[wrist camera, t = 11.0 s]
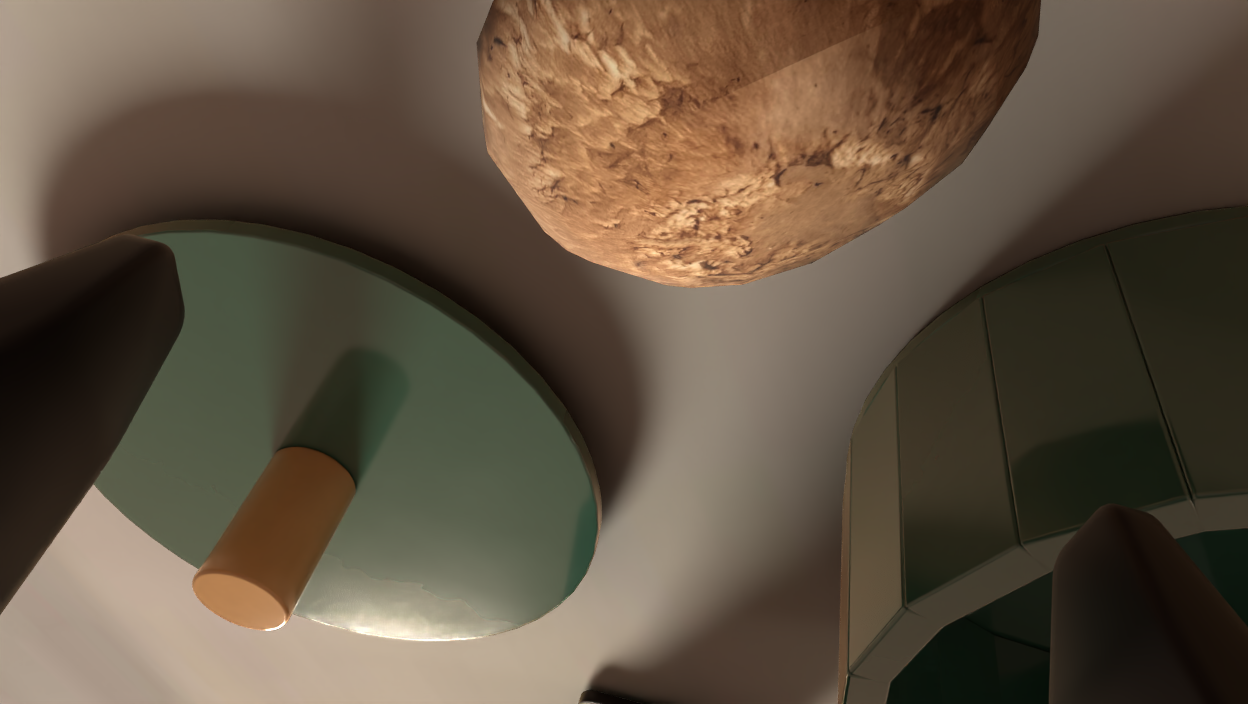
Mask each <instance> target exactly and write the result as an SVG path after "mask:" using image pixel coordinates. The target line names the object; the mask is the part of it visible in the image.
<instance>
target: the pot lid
mask: <svg viewBox="0 0 1248 704" xmlns="http://www.w3.org/2000/svg"><path fill="white" fill-rule="evenodd" d="M123 234H130V235H136V236H139V237H143V238H147V239H150V240H154V241H158V242H161V243H164V244H165V245H167V246H169V248H170V249H171V250H172V252H173V253H174V256H175V260H176V265H177V271H178V276H179V281H180V286H181V291H182V296H183V302H184V307H185V318H184V323H183V326H182V329H181V332H180V334H179V336H178V338H177V340H176V341H175V343H174V345H173V347H172V349H171V351H170V352H169V354H168V356H167V358H166V360H165V361H164V363H163V365H162V367H161V369H160V371H159V372H158V374H157V376H156V378H155V380H154V381H153V383H152V385H151V387H150V389H149V391H148V392H147V394H146V396H145V398H144V400H143V401H142V403H141V405H140V407H139V409H138V411H137V412H136V414H135V416H134V418H133V420H132V422H131V423H130V425H129V427H128V429H127V431H126V432H125V434H124V436H123V438H122V440H121V441H120V443H119V445H118V446H117V448H116V450H115V452H114V453H113V455H112V457H111V458H110V460H109V462H108V463H107V465H106V466H105V468H104V469H103V470H102V472H101V473H100V475H99V476H98V478H97V479H96V481H95V482H94V485H95V486H96V488H97V489H98V490H99V491H100V492H101V493H102V494H103V495H104V496H105V497H106V498H107V499H108V500H109V501H110V502H111V503H112V504H113V505H114V506H115V507H116V508H117V509H118V510H120V511H121V512H122V513H123V514H124V515H125V516H126V517H127V518H128V519H129V520H131V521H132V522H133V523H134V524H135V525H137V526H138V527H139V528H140V529H142V530H143V531H144V532H145V533H147V534H148V535H149V536H150V537H151V538H153V539H154V540H156V541H157V542H158V543H160V544H161V545H163V546H164V547H165V548H167V549H168V550H170V551H171V552H173V553H174V554H175V555H177V556H178V557H180V558H181V559H183V560H185V561H186V562H188V563H189V564H191V565H193V566H194V567H196V568H198V569H199V570H198V571H197V573H196V574H195V576H194V578H193V583H192V587H193V591H194V593H195V595H196V596H197V598H198V599H199V600H200V601H201V602H202V604H204V605H205V606H206V607H207V608H208V609H209V610H211V611H212V612H213V613H215V614H216V615H218V616H220V617H222V618H223V619H225V620H227V621H230V622H232V623H234V624H237V625H240V626H243V627H246V628H250V629H255V630H275V629H278V628H281V627H282V626H284V625H285V624H286V623H287V622H288V620H289V619H290V617H291V615H292V614H294V615H297V616H300V617H304V618H307V619H310V620H313V621H316V622H319V623H322V624H326V625H330V626H334V627H338V628H342V629H346V630H350V631H354V632H359V633H364V634H370V635H376V636H381V637H388V638H398V639H407V640H426V641H448V640H464V639H473V638H479V637H485V636H491V635H496V634H499V633H503V632H506V631H510V630H513V629H517V628H519V627H521V626H524V625H526V624H528V623H531V622H533V621H535V620H537V619H539V618H541V617H542V616H544V615H546V614H547V613H549V612H550V611H552V610H553V609H555V608H556V607H558V606H559V605H560V604H561V603H562V602H563V601H564V600H565V599H566V598H567V597H568V596H570V595H571V594H572V593H573V592H574V591H575V589H576V588H577V586H578V585H579V583H580V582H581V581H582V579H583V578H584V576H585V575H586V573H587V571H588V569H589V566H590V564H591V561H592V559H593V556H594V554H595V551H596V547H597V544H598V539H599V533H600V527H601V521H602V508H601V492H600V487H599V483H598V479H597V474H596V470H595V466H594V463H593V460H592V458H591V456H590V453H589V451H588V448H587V446H586V443H585V441H584V439H583V436H582V434H581V433H580V431H579V429H578V428H577V426H576V424H575V423H574V421H573V419H572V418H571V416H570V414H569V412H568V411H567V409H566V407H565V406H564V405H563V403H562V402H561V401H560V399H559V398H558V397H557V396H556V394H555V393H554V392H553V390H552V389H551V388H550V387H549V385H548V384H547V383H546V381H545V380H544V379H543V378H542V376H541V375H540V374H539V373H538V372H537V371H536V370H535V369H534V368H533V367H532V366H531V365H530V364H529V363H528V362H527V361H526V360H525V359H524V358H523V357H522V356H521V355H520V354H519V353H518V352H517V351H516V350H515V349H514V348H513V346H511V345H510V344H509V343H508V342H507V341H505V340H504V339H503V338H502V337H501V336H499V335H498V334H497V333H496V332H495V331H493V330H492V329H491V328H490V327H489V326H487V325H486V324H485V323H484V322H483V321H481V320H480V319H479V318H478V317H476V316H475V315H473V314H472V313H470V312H469V311H467V310H466V309H464V308H463V307H462V306H460V305H459V304H457V303H456V302H454V301H453V300H451V299H450V298H448V297H447V296H445V295H444V294H442V293H441V292H439V291H438V290H436V289H434V288H432V287H430V286H429V285H427V284H425V283H423V282H421V281H420V280H418V279H416V278H414V277H412V276H410V275H409V274H407V273H405V272H403V271H401V270H400V269H398V268H396V267H393V266H391V265H389V264H386V263H384V262H382V261H380V260H377V259H375V258H373V257H370V256H368V255H366V254H364V253H361V252H359V251H357V250H354V249H352V248H349V247H346V246H343V245H340V244H337V243H334V242H331V241H328V240H324V239H321V238H318V237H315V236H312V235H309V234H305V233H301V232H296V231H292V230H287V229H283V228H278V227H274V226H269V225H265V224H257V223H248V222H239V221H230V220H221V219H211V220H176V221H169V222H163V223H157V224H150V225H144V226H140V227H137V228H134V229H131V230H128V231H125V232H122V233H119V234H116V235H113V236H110V237H108V238H106V239H105V240H107V239H109V238H112V237H115V236H119V235H123ZM103 241H104V240H103Z"/></svg>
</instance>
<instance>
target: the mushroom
mask: <svg viewBox="0 0 1248 704" xmlns="http://www.w3.org/2000/svg"><path fill="white" fill-rule="evenodd" d="M1040 7H1041V0H494V1H493V3H492V6H491V8H490V11H489V13H488V16H487V18H486V21H485V23H484V26H483V28H482V31H481V33H480V36H479V38H478V41H477V54H478V66H479V79H480V91H481V104H482V117H483V128H484V134H485V139H486V145H487V151H488V154H489V155H490V156H491V158H492V159H493V161H494V162H495V163H496V165H497V166H498V168H499V169H500V170H501V172H502V173H503V175H504V176H505V177H506V179H507V180H508V182H509V183H510V184H511V186H512V187H513V189H514V190H515V191H516V193H517V194H518V195H519V197H520V198H521V200H522V201H523V202H524V204H525V205H526V207H527V208H528V209H529V211H530V212H531V214H532V215H533V216H534V218H535V219H536V221H537V222H538V223H539V225H540V226H541V228H542V229H543V230H544V232H546V233H547V234H548V235H549V236H550V237H552V238H553V239H554V240H555V241H556V242H558V243H559V244H560V245H561V246H562V247H563V248H565V249H566V250H567V251H569V252H571V253H573V254H576V255H578V256H580V257H582V258H584V259H586V260H589V261H591V262H593V263H596V264H599V265H603V266H606V267H609V268H612V269H616V270H619V271H622V272H625V273H628V274H632V275H635V276H638V277H641V278H645V279H648V280H651V281H654V282H657V283H661V284H664V285H667V286H678V287H690V288H695V287H710V286H726V285H741V284H746V283H749V282H752V281H755V280H758V279H762V278H765V277H768V276H771V275H775V274H778V273H781V272H784V271H787V270H791V269H794V268H797V267H800V266H804V265H807V264H810V263H813V262H814V261H816V260H818V259H820V258H822V257H823V256H825V255H827V254H829V253H830V252H832V251H834V250H836V249H837V248H839V247H841V246H843V245H844V244H846V243H848V242H850V241H852V240H853V239H855V238H857V237H859V236H860V235H862V234H864V233H866V232H867V231H869V230H871V229H873V228H874V227H876V226H878V225H880V224H881V223H883V222H884V221H886V220H887V219H889V218H890V217H892V216H893V215H895V214H897V213H898V212H900V211H901V210H903V209H904V208H906V207H907V206H908V205H910V204H911V203H912V202H914V201H915V200H916V199H917V198H919V197H920V196H921V195H923V194H924V193H925V192H926V191H928V190H929V189H930V188H931V187H933V186H934V185H935V184H937V183H938V182H939V181H940V180H942V179H943V178H944V177H945V176H947V175H948V174H949V173H951V172H952V171H953V170H954V169H956V168H957V167H958V166H959V165H961V164H962V163H963V162H964V160H965V159H966V157H967V156H968V155H969V153H970V152H971V150H972V149H973V147H974V146H975V145H976V143H977V142H978V140H979V139H980V138H981V136H982V135H983V133H984V132H985V131H986V129H987V128H988V126H989V125H990V123H991V121H992V120H993V118H994V117H995V115H996V114H997V112H998V110H999V109H1000V107H1001V106H1002V104H1003V103H1004V101H1005V99H1006V98H1007V96H1008V95H1009V93H1010V92H1011V90H1012V88H1013V87H1014V85H1015V84H1016V82H1017V81H1018V79H1019V77H1020V76H1021V74H1022V73H1023V71H1024V70H1025V68H1026V66H1027V63H1028V61H1029V58H1030V56H1031V53H1032V50H1033V48H1034V45H1035V43H1036V40H1037V38H1038V33H1039V20H1040Z"/></svg>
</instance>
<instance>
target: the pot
mask: <svg viewBox="0 0 1248 704" xmlns="http://www.w3.org/2000/svg"><path fill="white" fill-rule="evenodd" d="M1106 504H1118V505H1122V506H1125V507H1129V508H1132V509H1136V510H1140V511H1143V512H1147V513H1149V514H1151V515H1153V516H1154V517H1156V518H1157V519H1158V520H1159V521H1160V522H1161V523H1162V524H1163V526H1164V527H1165V528H1166V529H1167V531H1168V532H1169V533H1170V534H1171V535H1172V537H1173V538H1174V539H1175V540H1176V541H1177V543H1178V544H1179V545H1180V546H1181V547H1182V549H1183V550H1184V551H1185V552H1186V553H1187V555H1188V556H1189V557H1190V558H1191V559H1192V561H1193V562H1194V563H1195V564H1196V565H1197V567H1198V568H1199V569H1200V570H1201V571H1202V573H1203V574H1204V575H1205V576H1206V577H1207V579H1208V580H1209V581H1210V582H1211V583H1212V585H1213V586H1214V587H1215V588H1216V589H1217V591H1218V592H1219V593H1220V594H1221V595H1222V597H1223V598H1224V599H1225V600H1226V601H1227V603H1228V604H1229V605H1230V606H1231V607H1232V609H1233V610H1234V611H1235V612H1236V613H1237V615H1238V616H1239V617H1240V618H1241V619H1242V621H1243V622H1244V623H1245V624H1246V625H1247V627H1248V206H1241V207H1232V208H1223V209H1214V210H1204V211H1196V212H1191V213H1186V214H1181V215H1176V216H1171V217H1167V218H1162V219H1157V220H1152V221H1147V222H1142V223H1137V224H1133V225H1130V226H1127V227H1124V228H1120V229H1117V230H1114V231H1110V232H1107V233H1104V234H1100V235H1097V236H1094V237H1090V238H1087V239H1084V240H1081V241H1078V242H1075V243H1073V244H1070V245H1068V246H1066V247H1063V248H1061V249H1058V250H1056V251H1053V252H1051V253H1048V254H1046V255H1044V256H1041V257H1039V258H1036V259H1034V260H1031V261H1029V262H1027V263H1025V264H1023V265H1021V266H1019V267H1017V268H1015V269H1014V270H1012V271H1010V272H1008V273H1006V274H1004V275H1002V276H1000V277H999V278H997V279H995V280H993V281H991V282H989V283H987V284H985V285H984V286H982V287H980V288H979V289H977V290H976V291H974V292H973V293H971V294H970V295H968V296H967V297H965V298H964V299H963V300H961V301H960V302H958V303H957V304H955V305H954V306H952V307H951V308H949V309H948V310H946V311H945V312H943V313H942V314H941V315H940V316H939V317H938V318H936V319H935V320H934V321H933V322H932V323H931V324H929V325H928V326H927V327H926V328H925V329H924V330H923V331H921V332H920V333H919V334H918V335H917V336H916V337H915V338H913V339H912V340H911V341H910V342H909V343H908V344H907V346H906V347H905V348H904V349H903V350H902V351H901V352H900V353H899V355H898V356H897V357H896V358H895V359H894V360H893V361H892V363H891V364H890V365H889V366H888V367H887V368H886V369H885V371H884V372H883V374H882V375H881V377H880V378H879V380H878V381H877V383H876V385H875V386H874V388H873V389H872V391H871V392H870V394H869V395H868V397H867V398H866V400H865V402H864V405H863V407H862V409H861V412H860V414H859V416H858V419H857V421H856V423H855V426H854V428H853V432H852V436H851V439H850V445H849V449H848V454H847V467H846V478H845V486H844V494H843V507H842V548H841V588H840V629H839V669H838V704H1049V678H1050V646H1051V614H1052V582H1053V570H1054V565H1055V562H1056V559H1057V557H1058V555H1059V553H1060V551H1061V550H1062V549H1063V547H1064V546H1065V545H1066V544H1067V543H1068V542H1069V541H1070V539H1071V538H1072V537H1073V536H1074V535H1075V534H1076V533H1077V532H1078V530H1079V529H1080V528H1081V527H1082V526H1083V525H1084V524H1085V523H1086V521H1087V520H1088V519H1089V518H1090V517H1091V516H1092V515H1093V514H1094V512H1095V511H1096V510H1098V509H1099V508H1100V507H1101V506H1104V505H1106Z"/></svg>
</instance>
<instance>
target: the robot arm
mask: <svg viewBox="0 0 1248 704" xmlns="http://www.w3.org/2000/svg"><path fill="white" fill-rule="evenodd" d="M184 318H185V307H184V302H183V296H182V291H181V286H180V281H179V276H178V271H177V265H176V260H175V256H174V253H173V252H172V250H171V249H170V248H169V246H167V245H165V244H164V243H161V242H158V241H154V240H150V239H147V238H143V237H139V236H136V235H130V234H123V235H119V236H115V237H112V238H109V239H107V240H104V241H101V242H98V243H96V244H93V245H90V246H87V247H85V248H82V249H79V250H76V251H74V252H71V253H68V254H65V255H63V256H60V257H57V258H55V259H52V260H49V261H46V262H44V263H41V264H38V265H35V266H33V267H30V268H27V269H24V270H22V271H19V272H16V273H13V274H11V275H8V276H5V277H2V278H0V615H1V613H2V612H3V610H4V609H5V607H6V606H7V605H8V603H9V602H10V600H11V599H12V598H13V596H14V595H15V593H16V592H17V591H18V589H19V588H20V586H21V585H22V584H23V582H24V581H25V579H26V578H27V577H28V575H29V574H30V572H31V571H32V570H33V568H34V567H35V565H36V564H37V562H38V561H39V560H40V558H41V557H42V555H43V554H44V553H45V551H46V550H47V548H48V547H49V546H50V544H51V543H52V541H53V540H54V539H55V537H56V536H57V534H58V533H59V532H60V530H61V529H62V527H63V526H64V525H65V523H66V522H67V520H68V519H69V517H70V516H71V515H72V513H73V512H74V510H75V509H76V508H77V506H78V505H79V503H80V502H81V501H82V499H83V498H84V496H85V495H86V494H87V492H88V491H89V489H90V488H91V487H92V485H93V484H94V482H95V481H96V479H97V478H98V476H99V475H100V473H101V472H102V470H103V469H104V468H105V466H106V465H107V463H108V462H109V460H110V458H111V457H112V455H113V453H114V452H115V450H116V448H117V446H118V445H119V443H120V441H121V440H122V438H123V436H124V434H125V432H126V431H127V429H128V427H129V425H130V423H131V422H132V420H133V418H134V416H135V414H136V412H137V411H138V409H139V407H140V405H141V403H142V401H143V400H144V398H145V396H146V394H147V392H148V391H149V389H150V387H151V385H152V383H153V381H154V380H155V378H156V376H157V374H158V372H159V371H160V369H161V367H162V365H163V363H164V361H165V360H166V358H167V356H168V354H169V352H170V351H171V349H172V347H173V345H174V343H175V341H176V340H177V338H178V336H179V334H180V332H181V329H182V326H183V323H184ZM578 704H641V703H637V702H634V701H630V700H627V699H623V698H620V697H616V696H613V695H609V694H606V693H602V692H599V691H594V690H587V691H584V692H583V693H582V694H581V697H580V700H579V703H578ZM1049 704H1248V627H1247V625H1246V624H1245V623H1244V622H1243V621H1242V619H1241V618H1240V617H1239V616H1238V615H1237V613H1236V612H1235V611H1234V610H1233V609H1232V607H1231V606H1230V605H1229V604H1228V603H1227V601H1226V600H1225V599H1224V598H1223V597H1222V595H1221V594H1220V593H1219V592H1218V591H1217V589H1216V588H1215V587H1214V586H1213V585H1212V583H1211V582H1210V581H1209V580H1208V579H1207V577H1206V576H1205V575H1204V574H1203V573H1202V571H1201V570H1200V569H1199V568H1198V567H1197V565H1196V564H1195V563H1194V562H1193V561H1192V559H1191V558H1190V557H1189V556H1188V555H1187V553H1186V552H1185V551H1184V550H1183V549H1182V547H1181V546H1180V545H1179V544H1178V543H1177V541H1176V540H1175V539H1174V538H1173V537H1172V535H1171V534H1170V533H1169V532H1168V531H1167V529H1166V528H1165V527H1164V526H1163V524H1162V523H1161V522H1160V521H1159V520H1158V519H1157V518H1156V517H1154V516H1153V515H1151V514H1149V513H1147V512H1143V511H1140V510H1136V509H1132V508H1129V507H1125V506H1122V505H1118V504H1106V505H1104V506H1101V507H1100V508H1099V509H1098V510H1096V511H1095V512H1094V514H1093V515H1092V516H1091V517H1090V518H1089V519H1088V520H1087V521H1086V523H1085V524H1084V525H1083V526H1082V527H1081V528H1080V529H1079V530H1078V532H1077V533H1076V534H1075V535H1074V536H1073V537H1072V538H1071V539H1070V541H1069V542H1068V543H1067V544H1066V545H1065V546H1064V547H1063V549H1062V550H1061V551H1060V553H1059V555H1058V557H1057V559H1056V562H1055V565H1054V570H1053V582H1052V614H1051V646H1050V678H1049Z"/></svg>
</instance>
